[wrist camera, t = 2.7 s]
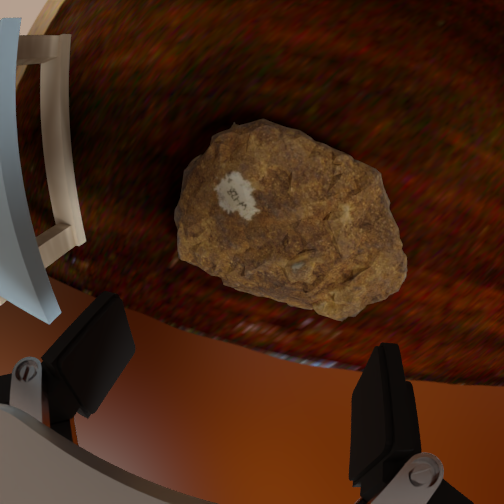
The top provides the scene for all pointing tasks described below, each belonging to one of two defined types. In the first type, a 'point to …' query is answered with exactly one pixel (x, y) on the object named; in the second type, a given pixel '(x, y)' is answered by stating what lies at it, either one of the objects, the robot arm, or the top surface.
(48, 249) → the trapdoor stand
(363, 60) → the top surface
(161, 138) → the top surface
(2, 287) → the trapdoor
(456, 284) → the top surface
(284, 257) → the decorative rock
